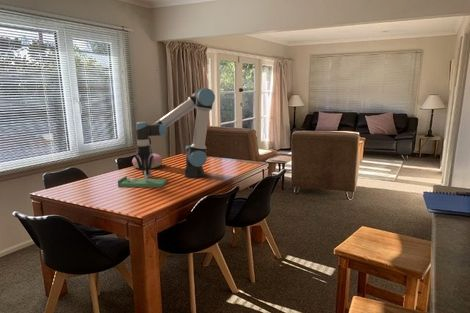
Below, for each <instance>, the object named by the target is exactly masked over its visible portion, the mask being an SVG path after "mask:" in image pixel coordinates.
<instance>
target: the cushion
mask: <svg viewBox="0 0 470 313" xmlns="http://www.w3.org/2000/svg"><path fill="white" fill-rule="evenodd" d="M152 154H153V155H154V157H153V160H154V163H155V164H154V165H153V166H151V169H155V168H158V167H160V166H161V165H162V163H163V161H164V160H163V157H162V156H161V155H160V154H158V153H152ZM139 159H140V157H139ZM140 162H141V159H140ZM131 163H132V165H133V166H134V167H135V168H136V169H139V166H138V163H137V160H136V158H135V156H134V157H133V158H132V160H131ZM141 164H142V163H141ZM145 170H146V167H145Z"/></svg>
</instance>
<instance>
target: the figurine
mask: <svg viewBox="0 0 470 313" xmlns="http://www.w3.org/2000/svg"><path fill="white" fill-rule="evenodd" d="M151 144H152V140H151V138H150V137H149V148H150V153H151V155H153V154H155V150H153V148H152V147H151ZM140 159H141V158H140ZM149 161H150V156H149V158H148V166H149ZM144 162H145V160H144ZM154 164H155V163H154V160H152V166H153V165H154ZM141 165H142V164H141ZM152 177H154V174H152V172H151V169H150V170H149V175H148V178H152Z"/></svg>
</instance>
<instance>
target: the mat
mask: <svg viewBox="0 0 470 313" xmlns="http://www.w3.org/2000/svg"><path fill="white" fill-rule="evenodd" d="M130 179H131V178H128V177H127V176H126V175H125V176H123V177H122V178H120V179H119V180H117V187H118V188H120V187H121V188H124V187H125V188H163V187H164V186H165V185H166V184H168V179H166V178H148V179H147V180H144V178H134V179H135V180H136V181H134V182H130Z"/></svg>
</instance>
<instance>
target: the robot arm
mask: <svg viewBox="0 0 470 313" xmlns="http://www.w3.org/2000/svg"><path fill="white" fill-rule="evenodd" d="M187 98H188V99H186V100H185V101H184V102H181V104H179V105H178V106H176V107H175V108H174V109H172V110H170V112H168V113H167V114H165V115H163V116H162V117H160V119H158V120H156V121H155V122H152V124H149V123H148V122H147V121H138V122H136V125H135V127H136V128H135V131H136V141H137V142H136V143H137V154H136V155H135V156H134V157H135V158H136V160H137V163H138V166H139V168H138V169H139V170H141V171H142V175H143V179H144V180H147V179H149V177H148V175H149V170H150V171H151V169H152V168H151V166H152V160H153V157H154V155H151V153H150V148H149V138H150V137H157V136H158V137H159V136H160V137H162V136H166V135H167V133H168V130H167V128H168V127H169V126H170V125H173V124H174V123H175V122H177V121H178V120H180V119H181V118H182V117H184V116H185V115H186V114H188V113H189V112H191V111H192V110H194V109H196V116H195V122H194V123H195V124H194V130H193V137H192V138H193V139H192V144H190V145H186V146H185V163H186V164H185V170H184V172H183V174H184V175H183V176H184V177H185V178H189V179H190V178H191V179H197V178H202V177H205V175H206V174H205V170H204V168H203V166H204V165H205V164H206V163H207V160H208V158H207V150H208V149H207V146H206V138H207V133H208V132H207V131H208V124H209V116H210V111H212V109H213V104H214V102H215V99H216V95H215V93H214V91H213V90H212V89H210V88H209V87H201V88H198V89H197V90H196V91H194V93H192V94H191V95H190V96H188V97H187ZM149 156H150V161H149V166H148V158H149ZM139 157H140V158H141V162H140V159H139ZM144 160H145V162H144ZM141 163H142V165H141ZM145 167H146V169H145Z"/></svg>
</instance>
